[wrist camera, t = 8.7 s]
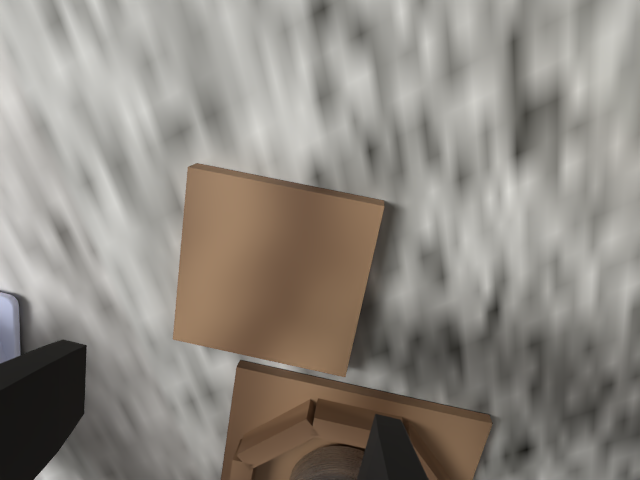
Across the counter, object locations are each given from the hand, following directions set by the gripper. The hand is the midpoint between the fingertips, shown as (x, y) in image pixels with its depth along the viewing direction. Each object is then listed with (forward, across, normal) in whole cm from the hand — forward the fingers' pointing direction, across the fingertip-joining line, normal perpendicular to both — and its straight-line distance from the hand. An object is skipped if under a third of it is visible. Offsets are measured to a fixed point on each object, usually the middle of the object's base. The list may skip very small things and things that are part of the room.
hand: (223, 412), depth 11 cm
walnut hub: (+10, -4, +11) cm, 16 cm away
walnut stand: (+10, +1, 0) cm, 10 cm away
